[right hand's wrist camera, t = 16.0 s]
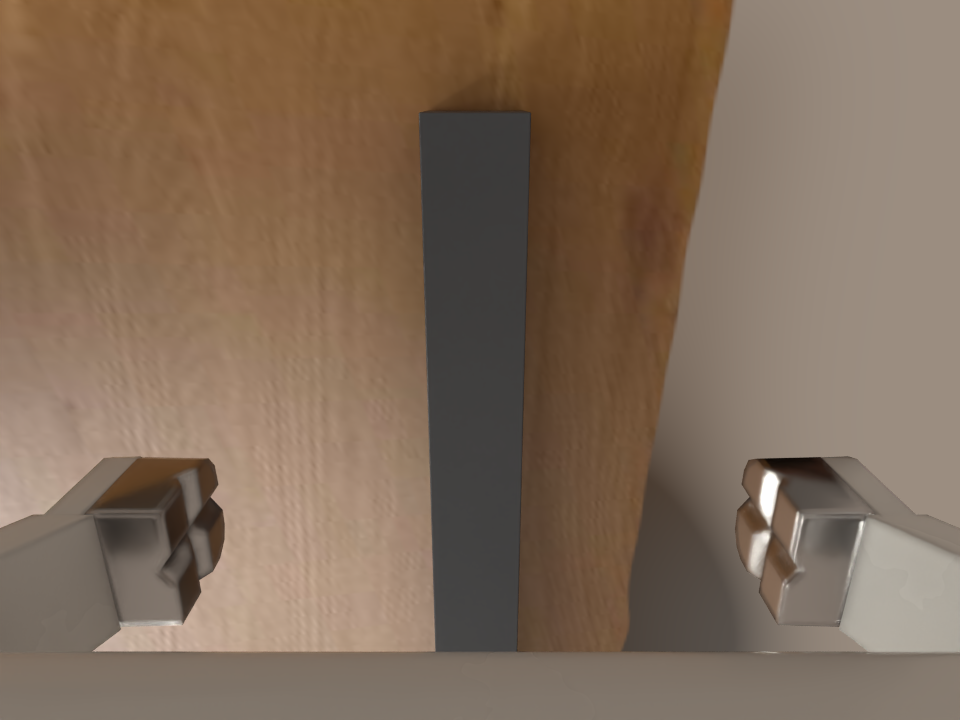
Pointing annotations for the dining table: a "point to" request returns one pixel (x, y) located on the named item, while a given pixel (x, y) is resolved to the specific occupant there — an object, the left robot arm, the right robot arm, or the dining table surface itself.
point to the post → (475, 367)
